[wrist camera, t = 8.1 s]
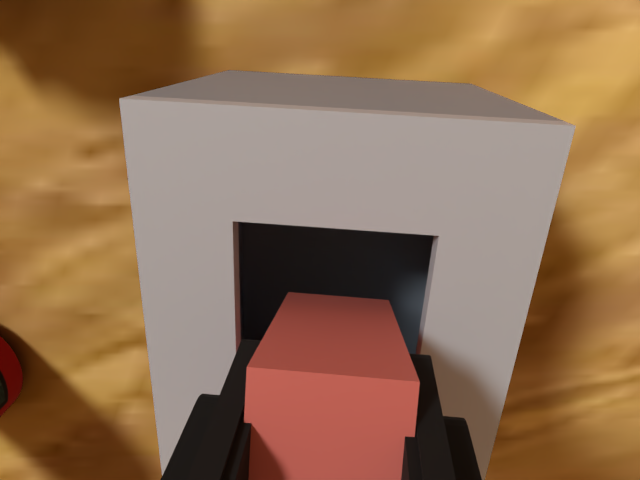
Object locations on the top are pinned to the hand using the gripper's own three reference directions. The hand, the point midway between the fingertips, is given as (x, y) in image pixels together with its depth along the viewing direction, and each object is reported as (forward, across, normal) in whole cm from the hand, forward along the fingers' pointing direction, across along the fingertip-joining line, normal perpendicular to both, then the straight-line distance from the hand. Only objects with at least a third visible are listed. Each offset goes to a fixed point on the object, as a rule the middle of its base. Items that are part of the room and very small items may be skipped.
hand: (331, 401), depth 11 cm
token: (+3, 0, +2) cm, 4 cm away
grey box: (+12, 0, +1) cm, 12 cm away
